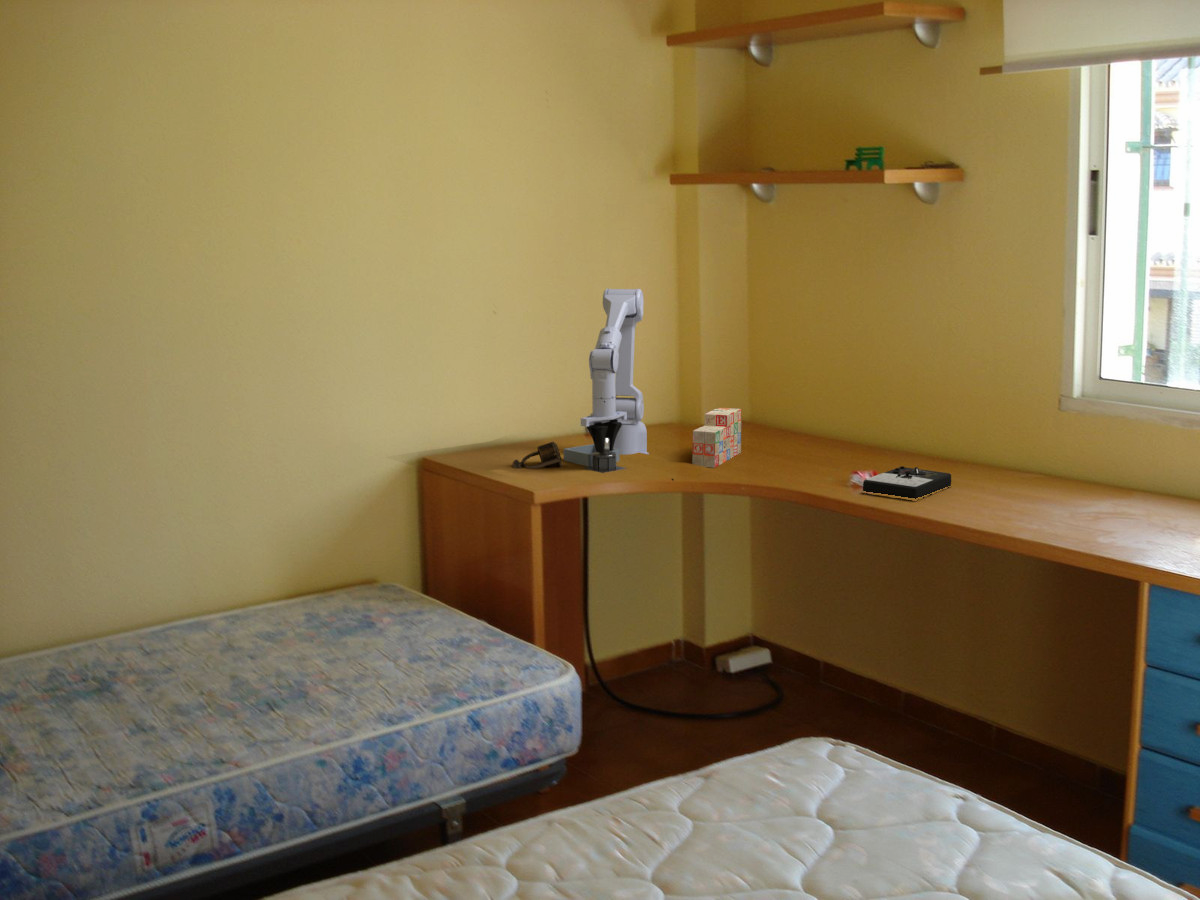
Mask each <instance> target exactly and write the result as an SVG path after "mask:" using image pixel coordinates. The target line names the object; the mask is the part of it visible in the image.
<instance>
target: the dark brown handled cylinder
mask: <svg viewBox="0 0 1200 900" xmlns="http://www.w3.org/2000/svg"><path fill="white" fill-rule="evenodd" d="M536 456H539V458H540V462H541V463H538V464H533V465H528V464H526V461H527V460H528V459H530V458H532V457H536ZM511 466H512V468H513V469H518V470H519V469H522V468H525V469H530V470H531V469H532V470H536V469H540V468H552V467H561V468H562V467H563V463H562V456H561V452H560V449H559V447H558V444H557V443H556V442H555V441H550V442H548V443H544V444H542V445H538V446H537V451H534V452H531V453H529V454H527V455H525V456H524V457H523V458H522V459H521V461H519V460H518V459H514V460H513V462H512V465H511Z"/></svg>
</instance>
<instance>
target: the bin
mask: <svg viewBox="0 0 1200 900" xmlns="http://www.w3.org/2000/svg"><path fill="white" fill-rule="evenodd" d="M594 452H596V449H595V445H594V443H591V444H585V445H580V446H573V447H565V448H563V461H565V462H569V463H573V464H576V465H581V466H584V467H590V466H592V457H593V453H594ZM610 452H615V453H616V463H617V462H620V454H619V449H615V448H613V451H610Z"/></svg>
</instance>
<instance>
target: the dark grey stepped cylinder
mask: <svg viewBox="0 0 1200 900" xmlns="http://www.w3.org/2000/svg"><path fill="white" fill-rule="evenodd" d="M616 466H617V462H616V453H615V452H610V438H609V437H605V449H604V453H598V452H594V453H593V457H592V468H593V469H595V470H605V471H608V470H614V469H616Z"/></svg>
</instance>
